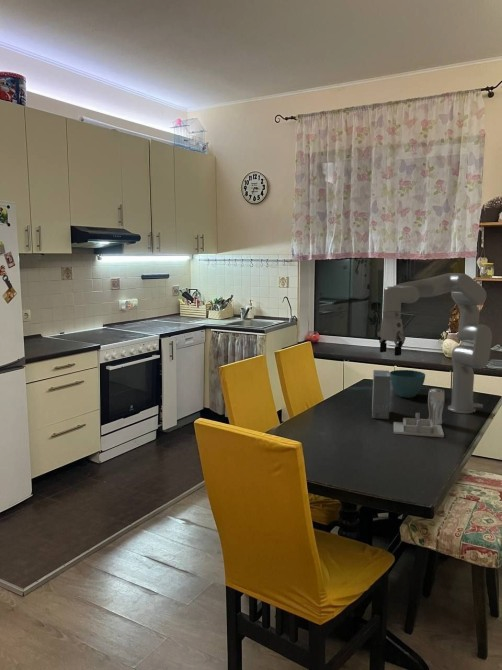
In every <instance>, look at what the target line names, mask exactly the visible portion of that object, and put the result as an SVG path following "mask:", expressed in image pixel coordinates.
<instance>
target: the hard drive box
mask: <svg viewBox="0 0 502 670" xmlns="http://www.w3.org/2000/svg"><path fill="white" fill-rule="evenodd" d="M372 371H373V373H372V402H371V403H372V405H371V418H372V419H382V420H389V419H390V401H391V400H390V397H391V376H390V372H391V371H390V370H384V369H382V370H380V369H379V370H378V369H373V370H372Z"/></svg>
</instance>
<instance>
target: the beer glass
mask: <svg viewBox="0 0 502 670" xmlns="http://www.w3.org/2000/svg"><path fill="white" fill-rule="evenodd" d="M444 405H445V390H444V389H442V388H441V389H440V388H429V389H428V394H427V406H428V414H429V415H428V419H431V420H432V422H433V425H441V426H442V424H443V417H442V415H443V410H444Z"/></svg>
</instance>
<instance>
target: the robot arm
mask: <svg viewBox="0 0 502 670" xmlns="http://www.w3.org/2000/svg"><path fill="white" fill-rule="evenodd" d="M448 293H451V294H450V295H451V299H452V300H453V302H455V304H456V305H457V307H458V309H459V323H458V328H457V338H458V340H459V341H460V342H462V343H467V344H471V345H473V346H470V345H465V344H460V345H456V346H455V347H454V348H453V349H452V351H451V363H452V383H451V385H452V387H451V403H450V405H448V406H447V410H448V411H449V412H453V413H455V414H456V413H457V414H473V412H474V413H475V412H476V408H477V409H483V408H484V404H482V403H479V402H478V403H477V402H476V403H475V402H474V401H473V400H474V384H475V383H474V382H475V381H474V380H475V373H474V369H480V370H482V369H484V368H485V367H486V366H487V365H488V363H489V360H490V356H491V355H490V353H491V347H492V339H493V334H492V330H491V328H490V327H489V326H487V325H485V324H481V323H480V321H479V320H480V310H479V307H478V306H481V305H482V304H484V303H485V301H486V299H487V291H486V289H485V288H484V287H483V286H482V285H481V284H480V283H478V282H477V281H476V280H475V279H474V278H473V277H471V276H470V275H468V274H466V273H457V272H451V273H450V272H449V273H444V274H440V275H439V274H438V275H437V276H436V275H435V276H433V277H428V278H423V279H417V280H412V281H406V282H402V283H398V284H395V285H393V286H386V287H384V288H383V299H382V301H383V302H382V305H383V306H382V317H381V323H380V330H379V331H378V332H377V339H378V342H379V353H386V352H387V349H388V348H387V341H388V342H392V343H394V344H395V346H394V356H395V357H397V356H402V347H403V346H404V344H405V342H406V336H405V335H404V327H403V319H402V318H401V316H402V314H401V313H402V303H404V304H413V303H415V302H417V301H418V300H419V299H420V298H432V297H436V296H437V297H438V296H440V295H444V294H448ZM473 368H474V369H473Z"/></svg>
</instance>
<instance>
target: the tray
mask: <svg viewBox="0 0 502 670" xmlns="http://www.w3.org/2000/svg"><path fill="white" fill-rule="evenodd" d="M420 417H421V413H420V412H415V416H414V417H413V418H412V417H403V418H402V422H401V421H393V434H394V435H404V436H405V435H407V436H408V435H409V436H421V437H432V438H433V437H434V438H435V437H436V438H444V437H445V433H444V430H443V427H442V424H441V425H433V422H432V420H431V419H429V418H426V419H425V418H420Z"/></svg>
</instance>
